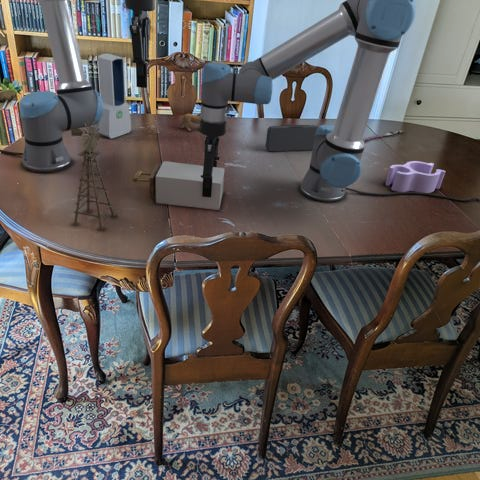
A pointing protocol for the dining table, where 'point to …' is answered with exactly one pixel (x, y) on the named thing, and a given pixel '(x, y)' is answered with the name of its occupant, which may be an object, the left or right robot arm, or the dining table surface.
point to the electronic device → (113, 97)
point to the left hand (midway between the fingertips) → (141, 86)
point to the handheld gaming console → (290, 137)
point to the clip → (414, 177)
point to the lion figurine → (188, 118)
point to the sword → (381, 136)
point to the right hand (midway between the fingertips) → (209, 187)
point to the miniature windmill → (85, 153)
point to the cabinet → (187, 186)
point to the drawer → (151, 180)
